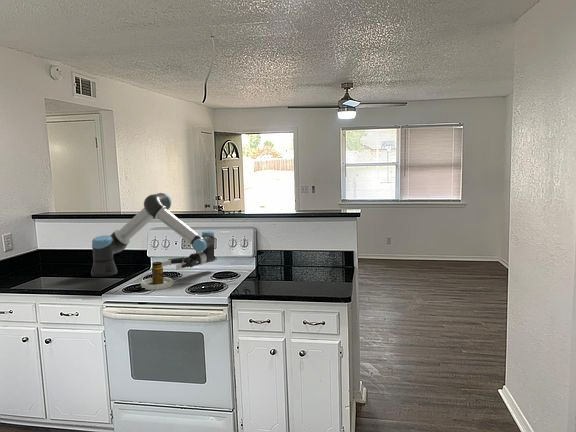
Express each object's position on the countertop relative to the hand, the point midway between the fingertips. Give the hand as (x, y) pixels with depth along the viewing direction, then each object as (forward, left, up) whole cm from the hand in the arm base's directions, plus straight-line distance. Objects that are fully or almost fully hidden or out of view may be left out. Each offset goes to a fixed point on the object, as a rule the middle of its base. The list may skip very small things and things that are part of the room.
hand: (168, 265), depth 263 cm
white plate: (+7, -5, -10) cm, 13 cm away
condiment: (+7, -5, -9) cm, 12 cm away
